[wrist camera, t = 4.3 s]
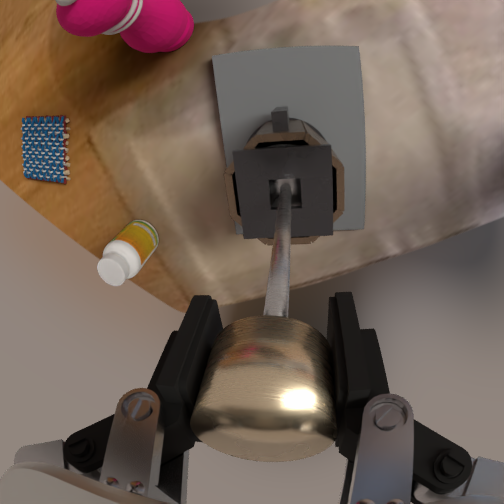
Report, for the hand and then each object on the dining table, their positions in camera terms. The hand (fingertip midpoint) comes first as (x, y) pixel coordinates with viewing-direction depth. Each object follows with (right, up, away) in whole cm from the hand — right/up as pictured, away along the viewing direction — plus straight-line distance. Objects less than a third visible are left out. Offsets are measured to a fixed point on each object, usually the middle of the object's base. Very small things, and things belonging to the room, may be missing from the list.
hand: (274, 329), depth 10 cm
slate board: (+4, +15, +23) cm, 28 cm away
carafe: (+3, +13, +23) cm, 27 cm away
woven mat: (-32, +19, +27) cm, 46 cm away
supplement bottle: (-16, +5, +32) cm, 36 cm away
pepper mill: (-10, +29, +17) cm, 35 cm away
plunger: (+2, +8, +14) cm, 16 cm away
